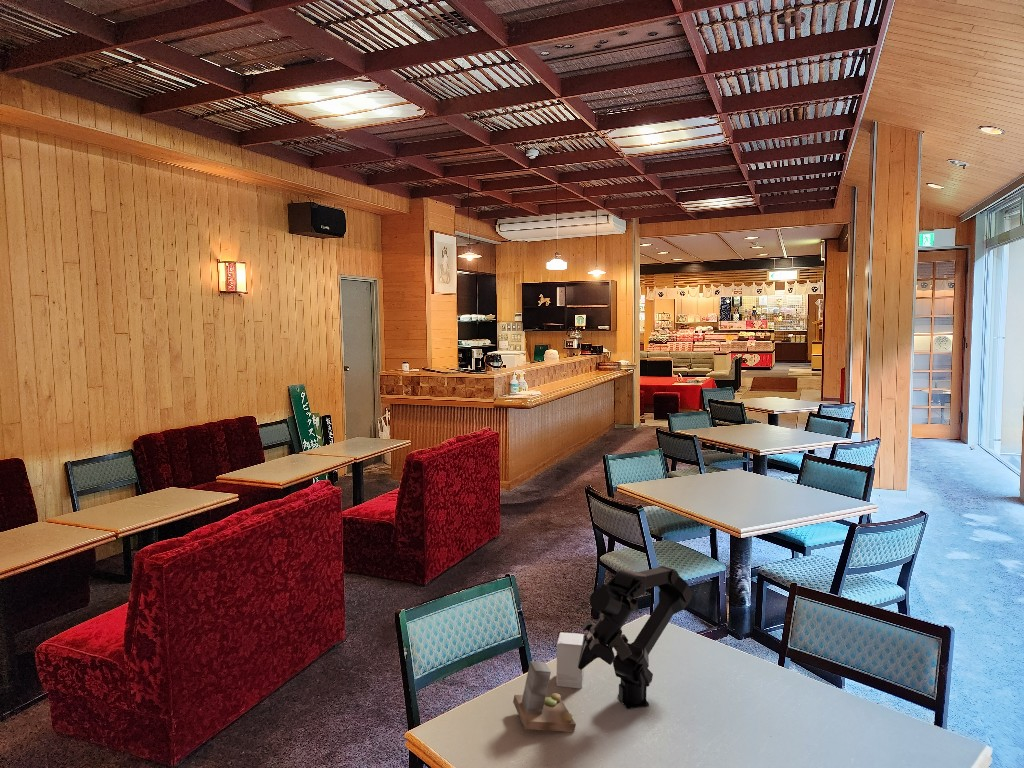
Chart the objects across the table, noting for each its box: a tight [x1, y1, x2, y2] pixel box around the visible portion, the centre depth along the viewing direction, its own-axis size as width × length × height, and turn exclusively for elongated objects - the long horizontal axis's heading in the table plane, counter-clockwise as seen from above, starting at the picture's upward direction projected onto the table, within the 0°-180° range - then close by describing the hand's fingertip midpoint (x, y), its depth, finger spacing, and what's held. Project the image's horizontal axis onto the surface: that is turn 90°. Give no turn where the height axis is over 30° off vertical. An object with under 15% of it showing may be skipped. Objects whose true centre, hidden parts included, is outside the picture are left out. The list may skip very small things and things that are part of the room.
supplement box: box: [555, 631, 585, 689], centre depth 188 cm, size 7×7×13 cm
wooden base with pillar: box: [512, 660, 577, 733], centre depth 168 cm, size 13×12×13 cm
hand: (579, 668), depth 171 cm, fingers closed
